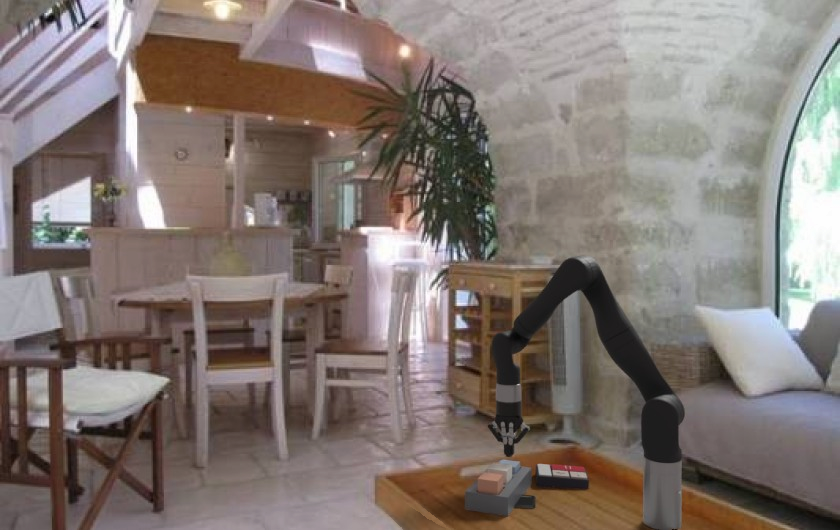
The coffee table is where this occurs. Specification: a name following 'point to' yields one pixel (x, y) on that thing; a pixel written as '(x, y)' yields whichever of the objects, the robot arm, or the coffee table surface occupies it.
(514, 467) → the slate key
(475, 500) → the key panel
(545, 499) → the coffee table surface
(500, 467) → the white key
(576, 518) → the coffee table surface
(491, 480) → the terracotta key
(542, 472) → the calculator
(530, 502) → the phone
